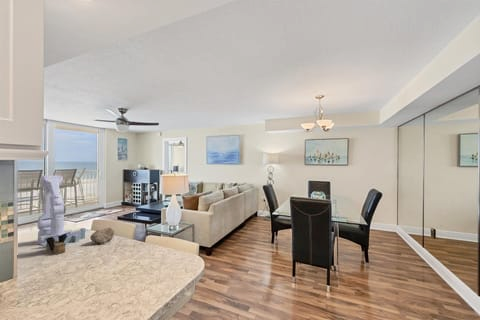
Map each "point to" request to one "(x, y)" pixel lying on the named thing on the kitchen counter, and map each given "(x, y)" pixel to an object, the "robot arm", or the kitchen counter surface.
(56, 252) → the brown block
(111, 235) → the coral
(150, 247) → the kitchen counter surface
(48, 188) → the robot arm
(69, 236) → the blue-grey stepped platform
